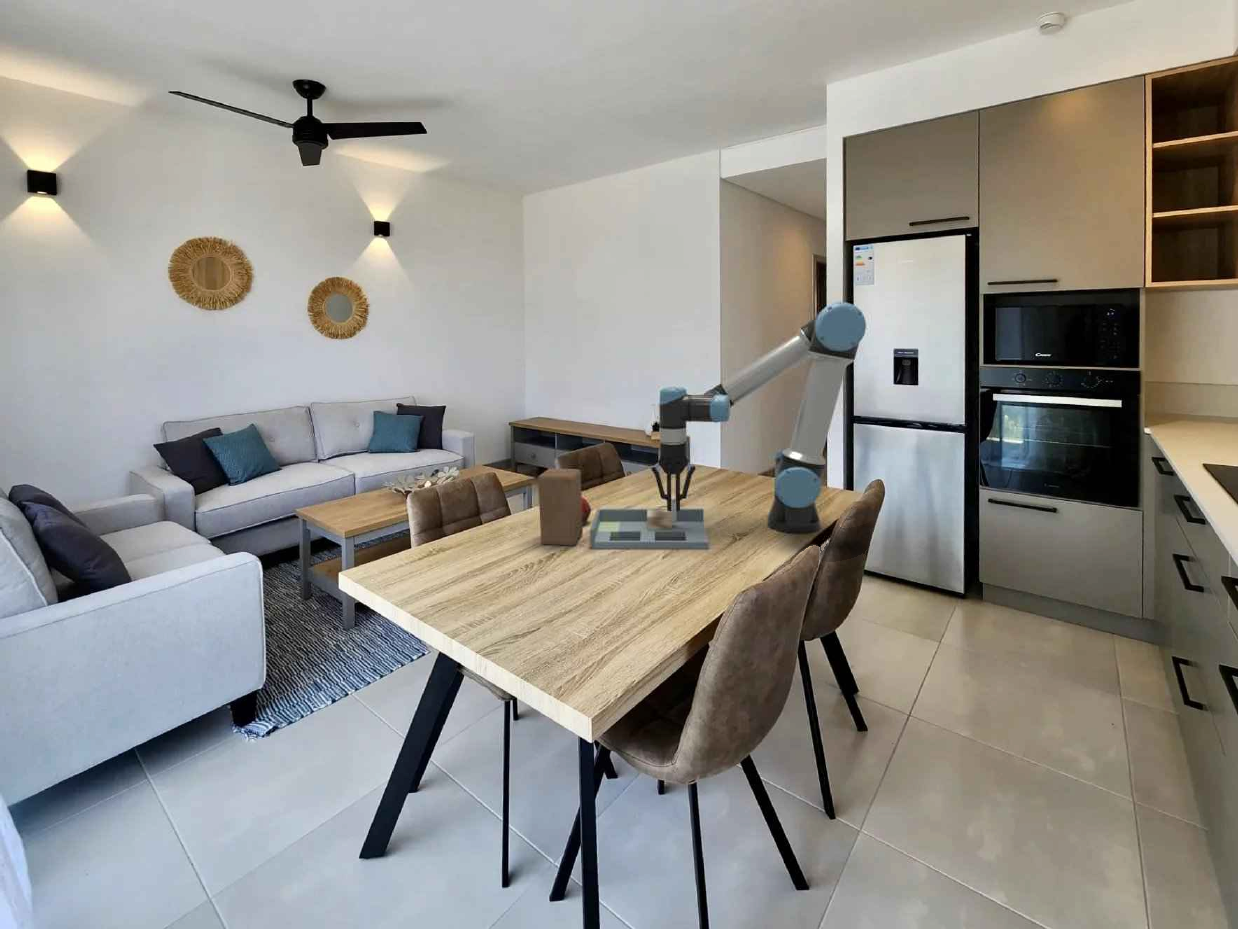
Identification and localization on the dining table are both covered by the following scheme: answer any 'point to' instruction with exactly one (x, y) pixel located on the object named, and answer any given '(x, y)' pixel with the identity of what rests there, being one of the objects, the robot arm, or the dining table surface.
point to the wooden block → (560, 506)
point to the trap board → (632, 530)
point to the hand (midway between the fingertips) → (673, 521)
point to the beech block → (659, 520)
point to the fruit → (585, 510)
